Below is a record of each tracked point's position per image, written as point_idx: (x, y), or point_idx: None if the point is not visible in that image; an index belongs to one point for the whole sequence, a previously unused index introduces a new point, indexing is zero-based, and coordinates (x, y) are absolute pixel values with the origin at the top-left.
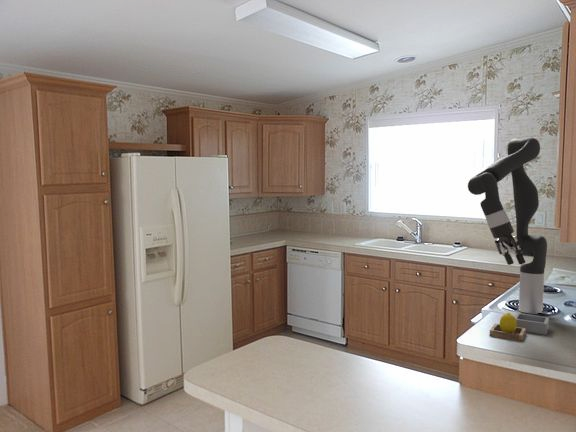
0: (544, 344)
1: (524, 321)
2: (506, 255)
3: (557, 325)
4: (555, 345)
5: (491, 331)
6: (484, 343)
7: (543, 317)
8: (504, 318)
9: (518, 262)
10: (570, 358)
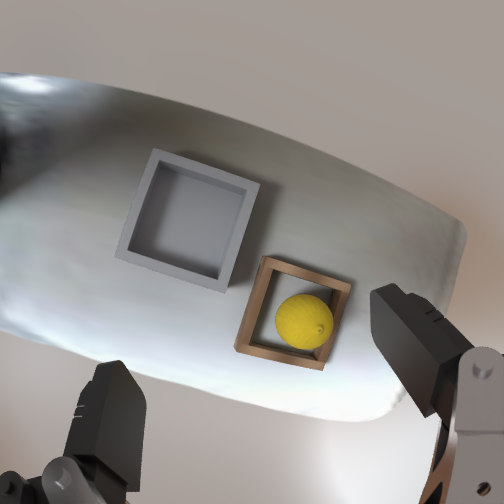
0: (352, 227)
1: (236, 254)
2: (121, 481)
3: (118, 124)
4: (351, 200)
5: (323, 365)
6: (379, 375)
7: (156, 168)
8: (326, 340)
9: (383, 354)
10: (425, 202)
